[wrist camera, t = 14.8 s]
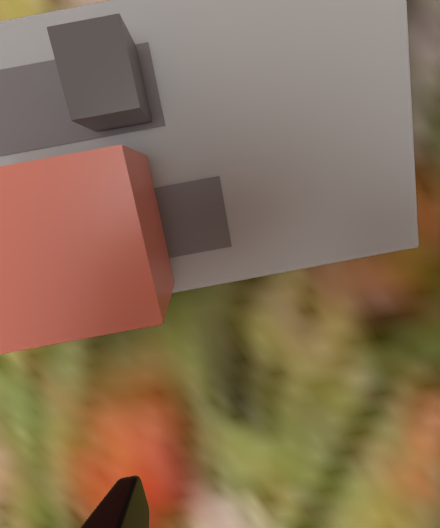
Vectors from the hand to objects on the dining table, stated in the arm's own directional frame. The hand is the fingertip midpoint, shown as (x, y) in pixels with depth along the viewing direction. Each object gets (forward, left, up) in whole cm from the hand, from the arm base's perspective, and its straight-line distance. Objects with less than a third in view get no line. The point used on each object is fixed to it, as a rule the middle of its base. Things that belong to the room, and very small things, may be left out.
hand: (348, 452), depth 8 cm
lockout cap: (+7, -5, -11) cm, 14 cm away
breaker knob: (+5, -10, -10) cm, 16 cm away
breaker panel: (+3, -7, -12) cm, 14 cm away
